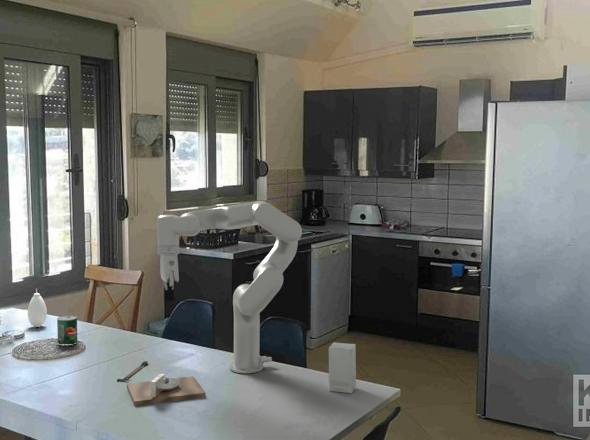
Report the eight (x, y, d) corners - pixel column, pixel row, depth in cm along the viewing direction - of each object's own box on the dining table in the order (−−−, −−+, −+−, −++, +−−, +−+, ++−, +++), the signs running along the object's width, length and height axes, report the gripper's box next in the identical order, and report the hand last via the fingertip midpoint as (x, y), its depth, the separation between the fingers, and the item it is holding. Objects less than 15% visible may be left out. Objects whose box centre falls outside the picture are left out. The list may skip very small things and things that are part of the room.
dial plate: (193, 380, 241) (193, 375, 241) (205, 396, 225) (205, 392, 225) (126, 388, 232) (126, 383, 232) (134, 405, 217) (134, 400, 216)
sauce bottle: (24, 328, 304) (23, 289, 302) (34, 324, 312) (33, 285, 310) (41, 329, 303) (40, 290, 301) (50, 325, 311) (49, 286, 309)
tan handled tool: (133, 386, 237) (133, 383, 237) (116, 382, 239) (116, 379, 239) (159, 366, 258) (159, 363, 257) (143, 363, 259) (143, 360, 259)
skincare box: (356, 387, 235) (357, 343, 234) (351, 394, 229) (352, 349, 227) (332, 384, 238) (333, 341, 236) (327, 391, 232) (328, 346, 230)
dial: (157, 380, 234) (157, 366, 234) (182, 382, 233) (182, 368, 232) (140, 395, 220) (140, 380, 220) (166, 398, 218) (166, 382, 218)
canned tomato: (74, 346, 279) (73, 320, 278) (54, 346, 279) (54, 319, 278) (80, 341, 287) (79, 315, 286) (61, 340, 287) (61, 315, 286)
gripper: (183, 252, 237) (183, 304, 239) (174, 246, 251) (174, 295, 253) (161, 253, 234) (162, 305, 236) (154, 247, 248) (154, 296, 250)
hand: (168, 300), depth 245 cm, fingers closed
